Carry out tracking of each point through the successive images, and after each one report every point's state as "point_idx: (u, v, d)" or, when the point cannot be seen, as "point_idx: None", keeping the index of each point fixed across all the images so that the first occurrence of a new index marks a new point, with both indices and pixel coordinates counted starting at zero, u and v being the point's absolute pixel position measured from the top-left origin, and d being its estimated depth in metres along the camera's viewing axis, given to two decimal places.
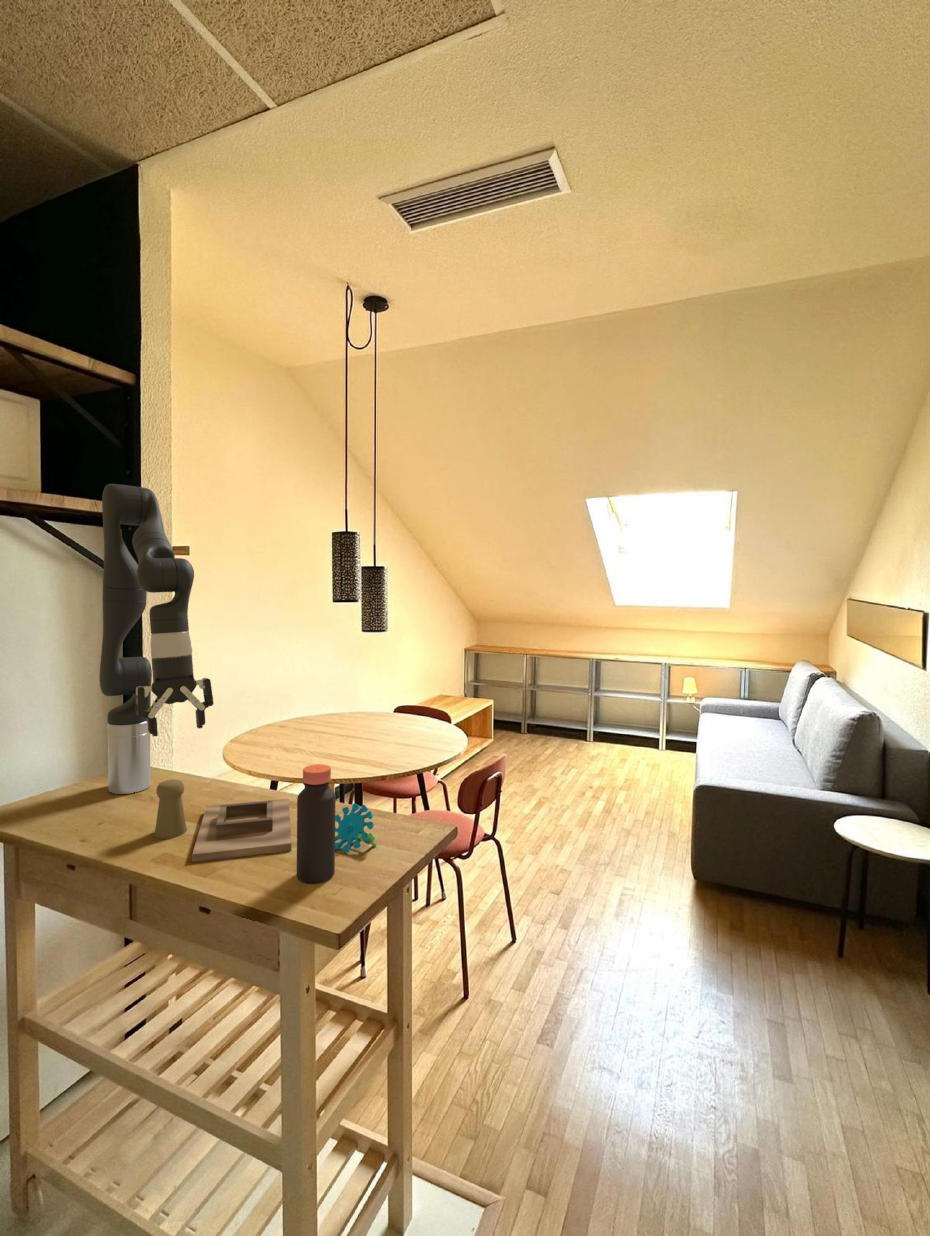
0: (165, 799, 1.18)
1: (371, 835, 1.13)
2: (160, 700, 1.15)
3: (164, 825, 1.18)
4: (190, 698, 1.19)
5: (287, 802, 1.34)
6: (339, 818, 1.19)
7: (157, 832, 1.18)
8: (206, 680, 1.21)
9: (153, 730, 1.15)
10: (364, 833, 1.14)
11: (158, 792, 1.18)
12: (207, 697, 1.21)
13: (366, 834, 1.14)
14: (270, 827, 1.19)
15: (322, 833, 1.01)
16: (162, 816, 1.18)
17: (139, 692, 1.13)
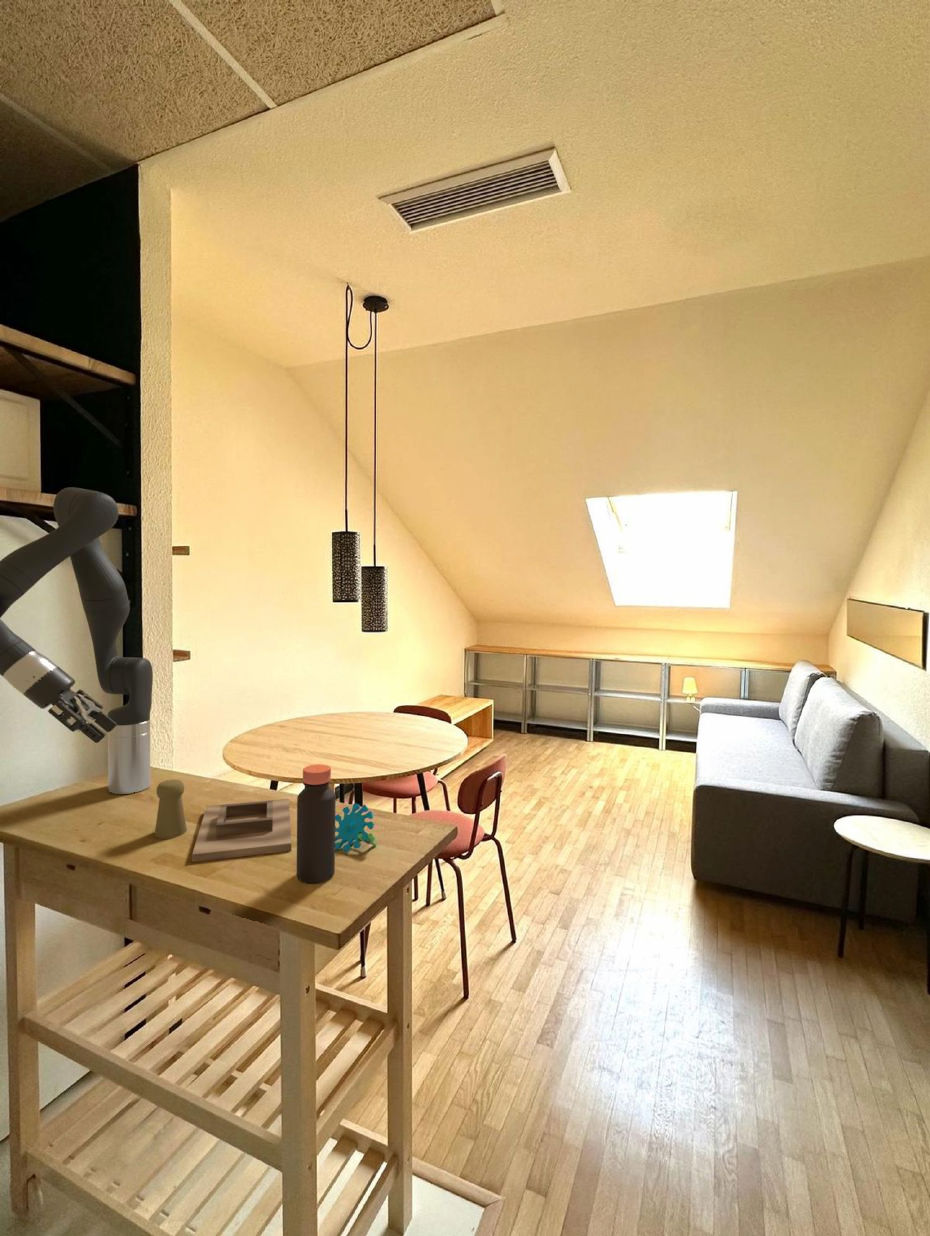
0: (165, 799, 1.18)
1: (371, 835, 1.13)
2: None
3: (164, 825, 1.18)
4: None
5: (287, 802, 1.34)
6: (339, 818, 1.19)
7: (157, 832, 1.18)
8: None
9: None
10: (364, 833, 1.14)
11: (158, 792, 1.18)
12: None
13: (366, 833, 1.14)
14: (270, 827, 1.19)
15: (322, 833, 1.01)
16: (162, 816, 1.18)
17: None
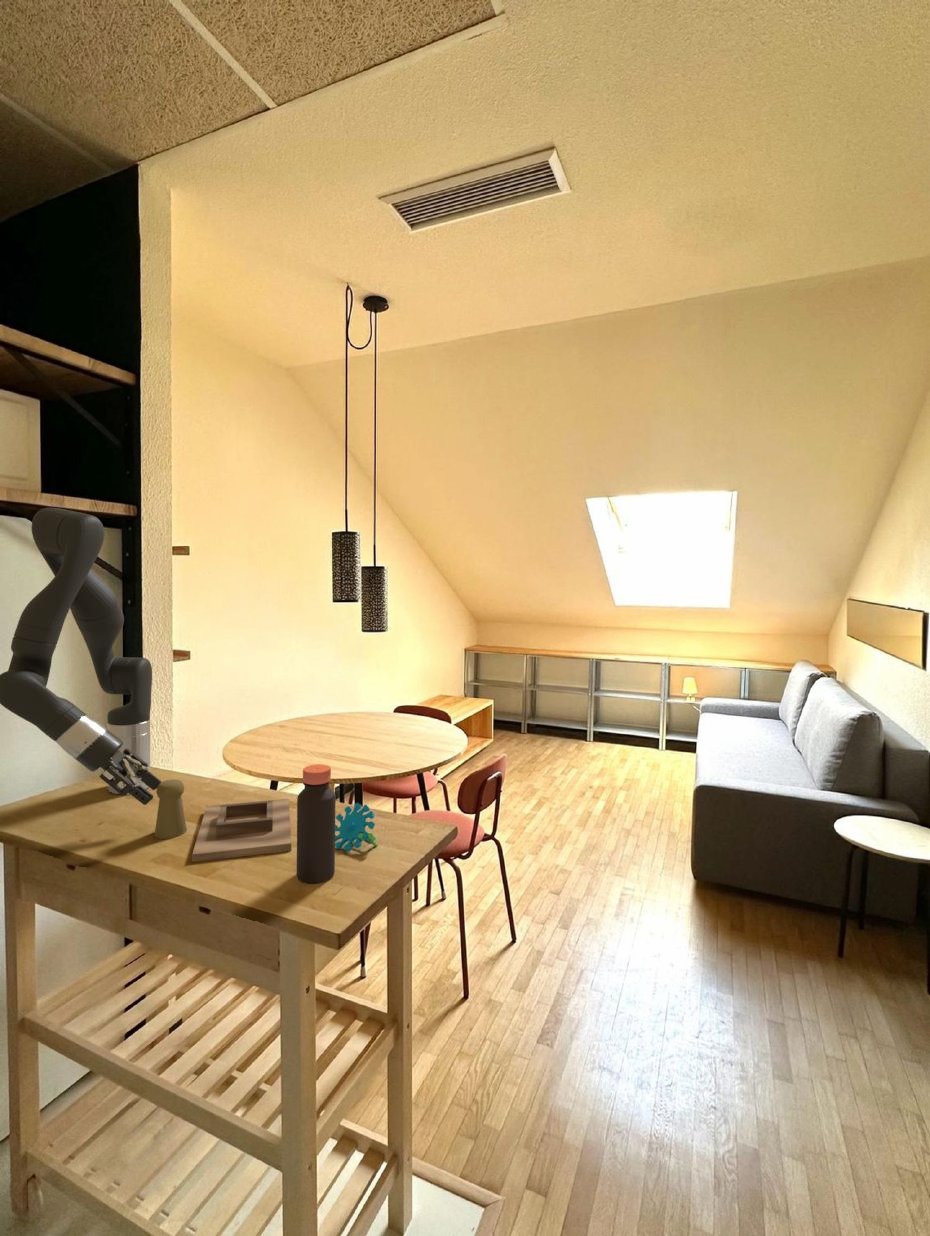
0: (165, 799, 1.18)
1: (372, 835, 1.13)
2: None
3: (164, 825, 1.18)
4: None
5: (287, 802, 1.34)
6: (341, 817, 1.19)
7: (157, 832, 1.18)
8: None
9: None
10: (365, 833, 1.14)
11: (158, 792, 1.18)
12: None
13: (367, 833, 1.14)
14: (270, 827, 1.19)
15: (322, 833, 1.01)
16: (162, 816, 1.18)
17: None
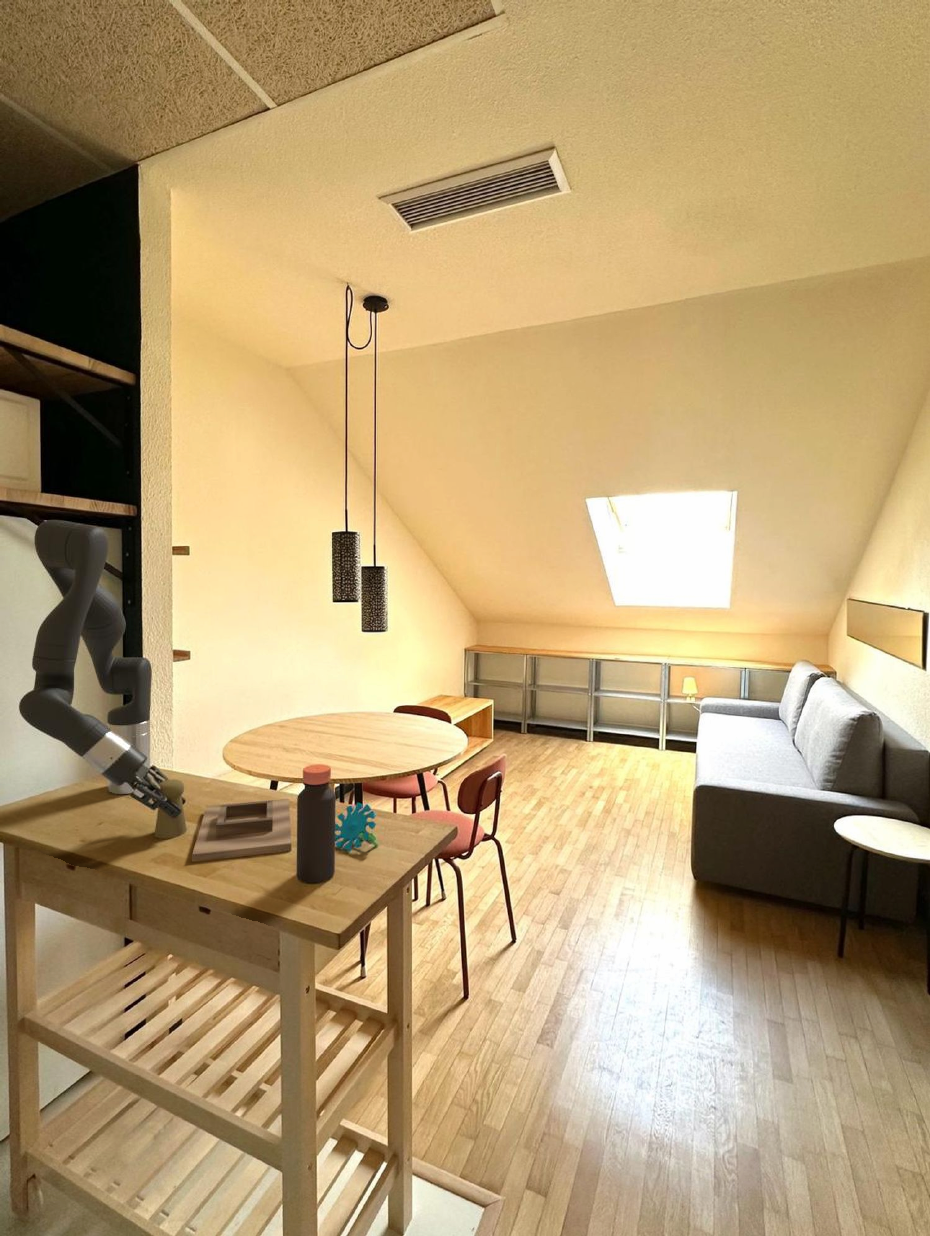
0: None
1: (372, 835, 1.13)
2: None
3: (164, 825, 1.18)
4: None
5: (287, 802, 1.34)
6: (343, 817, 1.20)
7: (157, 832, 1.18)
8: None
9: None
10: (365, 833, 1.14)
11: None
12: None
13: (367, 833, 1.14)
14: (270, 827, 1.19)
15: (322, 833, 1.01)
16: (162, 816, 1.18)
17: None
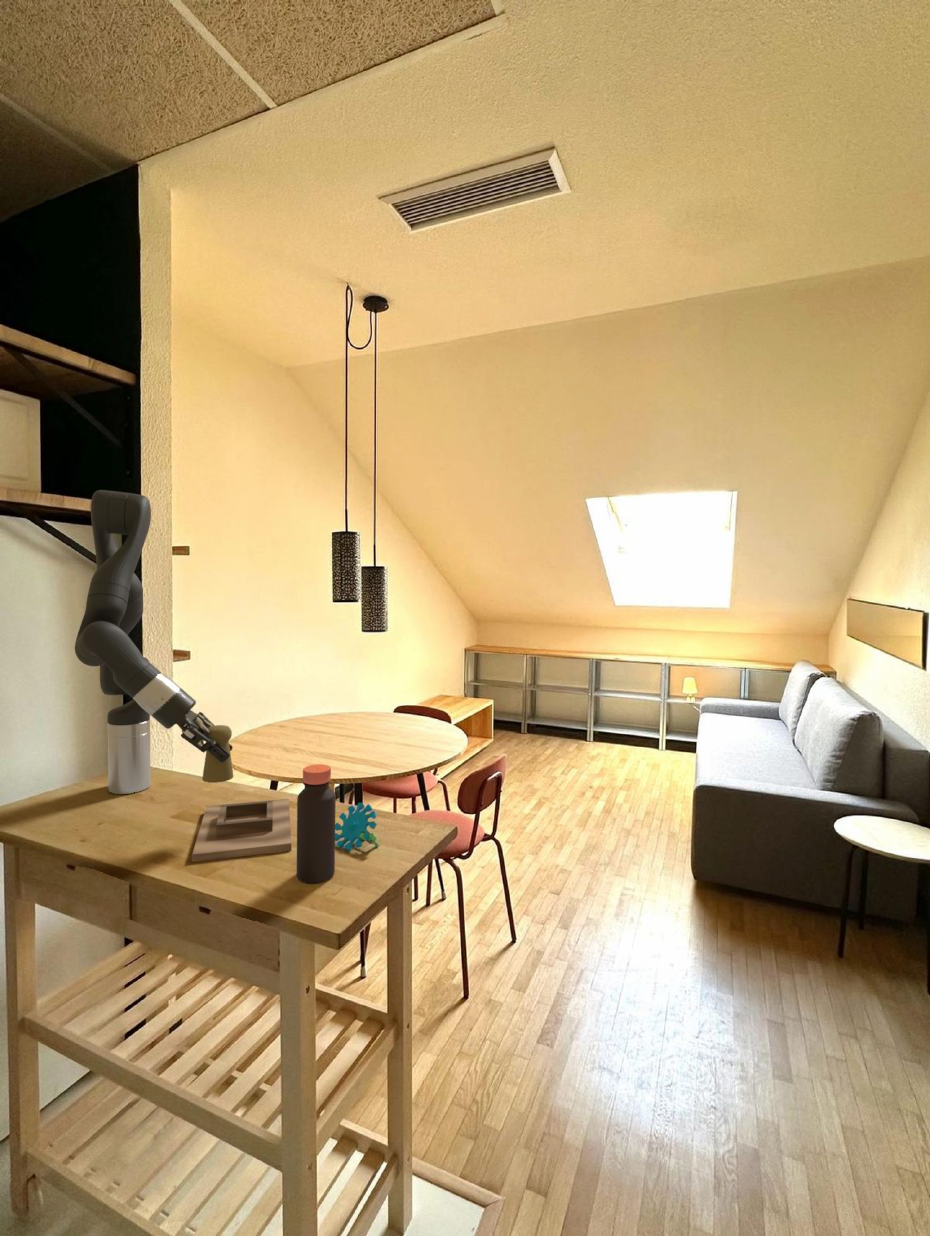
0: None
1: (372, 835, 1.13)
2: None
3: (212, 769, 1.17)
4: None
5: (287, 802, 1.34)
6: (344, 816, 1.20)
7: (205, 776, 1.17)
8: None
9: None
10: (366, 832, 1.14)
11: None
12: None
13: (368, 833, 1.14)
14: (270, 827, 1.19)
15: (322, 833, 1.01)
16: (210, 760, 1.17)
17: None
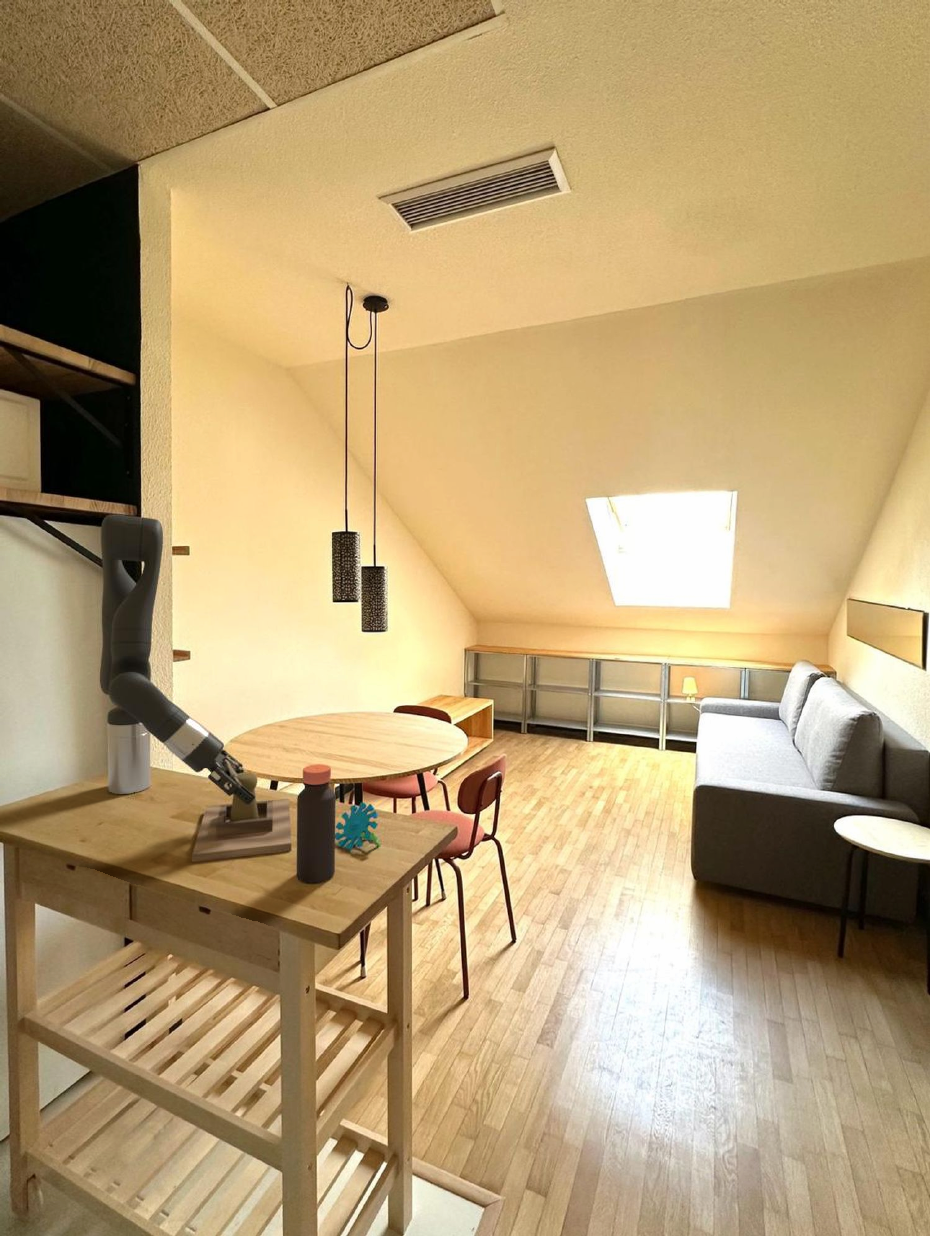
0: None
1: (373, 835, 1.13)
2: None
3: (239, 817, 1.19)
4: None
5: (287, 802, 1.34)
6: (346, 816, 1.20)
7: None
8: None
9: None
10: (367, 832, 1.14)
11: None
12: None
13: (369, 833, 1.14)
14: (270, 827, 1.19)
15: (321, 833, 1.01)
16: (237, 808, 1.19)
17: None
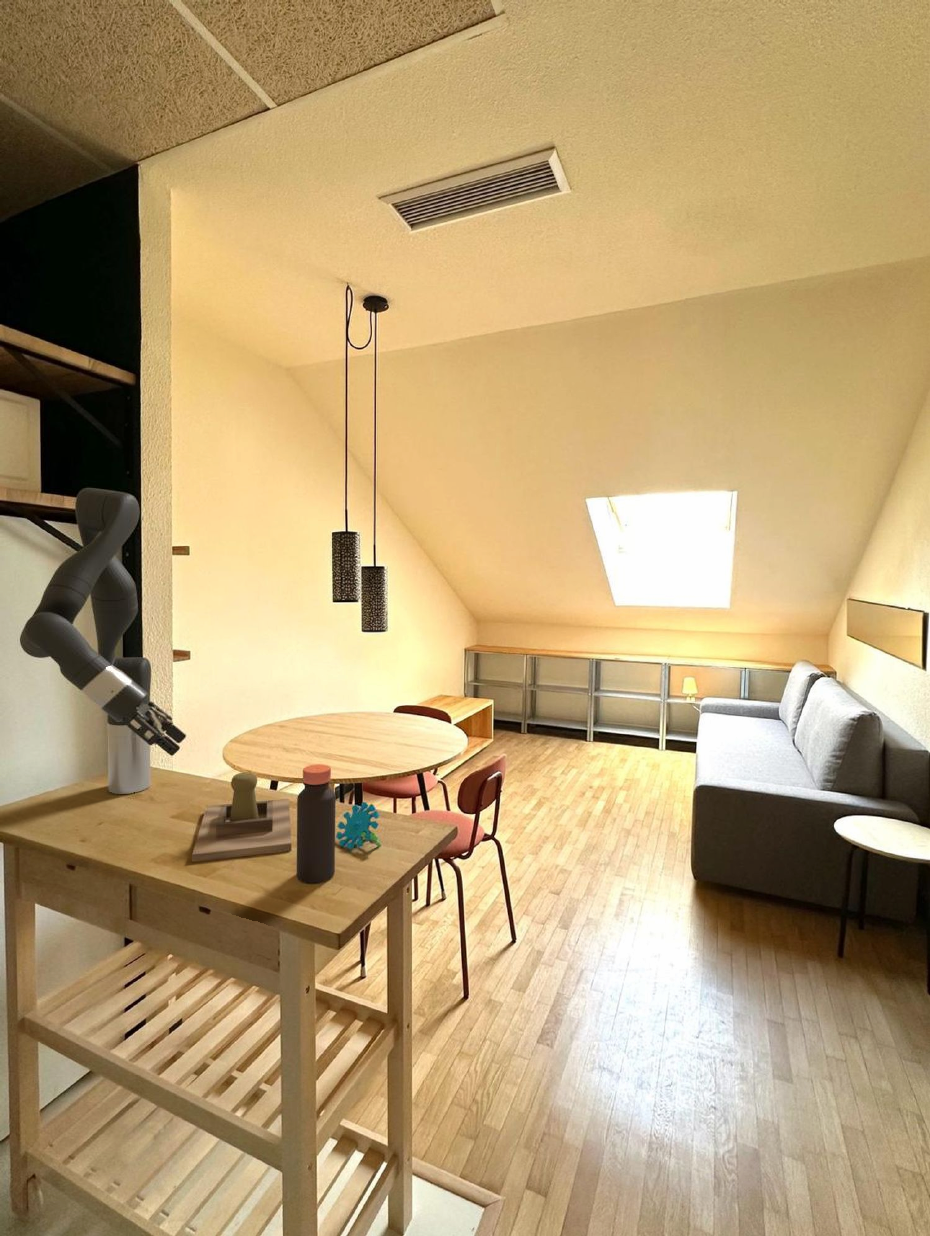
0: (240, 791, 1.19)
1: (373, 835, 1.13)
2: None
3: (239, 817, 1.19)
4: None
5: (287, 802, 1.34)
6: (348, 815, 1.20)
7: None
8: None
9: None
10: (367, 832, 1.14)
11: (233, 784, 1.19)
12: None
13: (369, 833, 1.14)
14: (270, 827, 1.19)
15: (322, 833, 1.01)
16: (237, 808, 1.19)
17: None
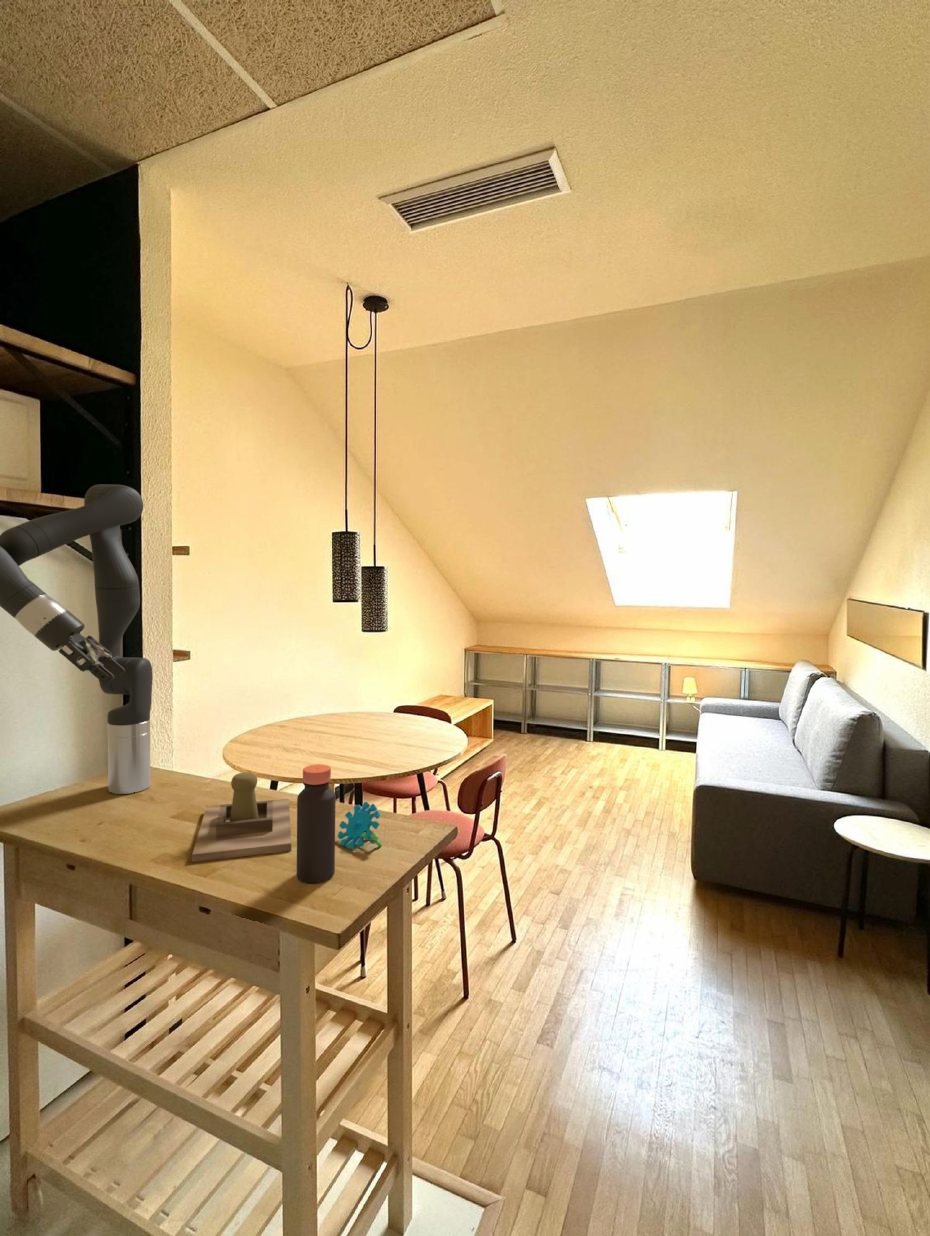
0: (240, 791, 1.19)
1: (374, 835, 1.13)
2: None
3: (239, 817, 1.19)
4: None
5: (287, 802, 1.34)
6: (350, 815, 1.21)
7: None
8: None
9: None
10: (368, 832, 1.15)
11: (233, 784, 1.19)
12: None
13: (370, 833, 1.14)
14: (270, 827, 1.19)
15: (321, 833, 1.01)
16: (237, 808, 1.19)
17: None
